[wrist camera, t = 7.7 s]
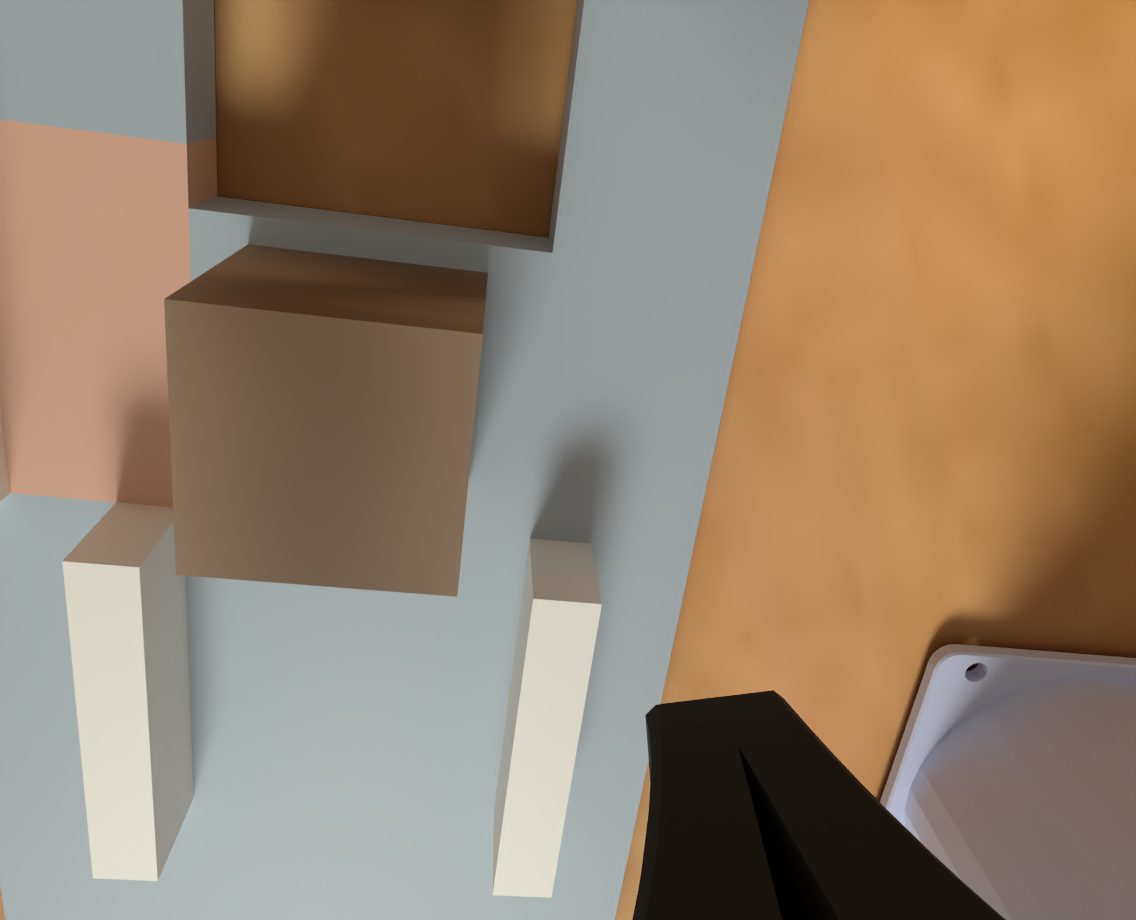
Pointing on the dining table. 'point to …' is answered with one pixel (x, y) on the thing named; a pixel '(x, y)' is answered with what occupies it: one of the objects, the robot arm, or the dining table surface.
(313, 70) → the dining table surface
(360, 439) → the block
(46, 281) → the deck
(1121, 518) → the dining table surface
